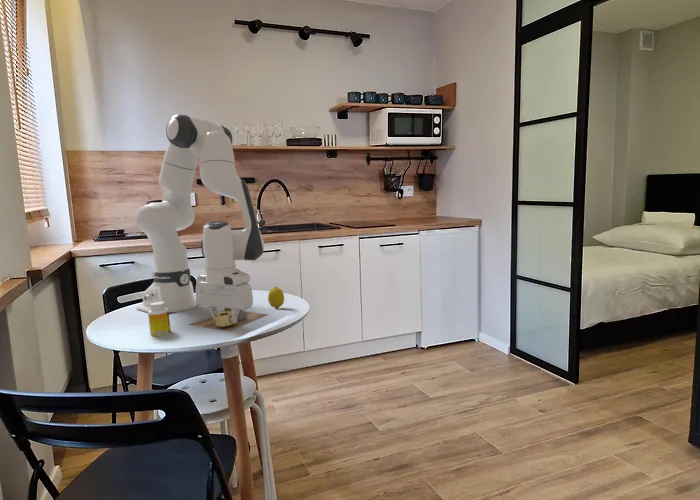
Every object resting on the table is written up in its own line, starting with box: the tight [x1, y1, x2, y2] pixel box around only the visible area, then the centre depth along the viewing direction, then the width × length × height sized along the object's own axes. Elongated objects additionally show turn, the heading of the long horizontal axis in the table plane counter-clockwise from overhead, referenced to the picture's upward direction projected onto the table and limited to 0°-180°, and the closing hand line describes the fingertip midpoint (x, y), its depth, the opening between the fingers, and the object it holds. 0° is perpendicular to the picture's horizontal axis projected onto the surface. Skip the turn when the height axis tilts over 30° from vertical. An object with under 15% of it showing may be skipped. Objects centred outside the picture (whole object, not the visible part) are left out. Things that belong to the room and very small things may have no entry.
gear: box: [215, 311, 235, 327], centre depth 137 cm, size 6×6×3 cm
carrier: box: [188, 308, 269, 332], centre depth 145 cm, size 17×18×4 cm
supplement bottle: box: [147, 301, 172, 337], centre depth 134 cm, size 6×6×10 cm
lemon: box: [267, 286, 285, 310], centre depth 159 cm, size 6×6×8 cm
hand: (225, 321), depth 138 cm, fingers closed on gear, 5 cm apart
